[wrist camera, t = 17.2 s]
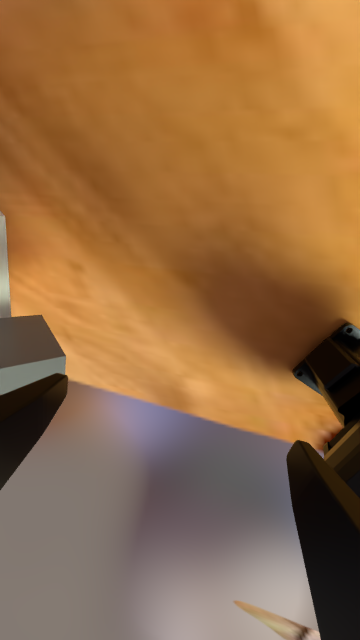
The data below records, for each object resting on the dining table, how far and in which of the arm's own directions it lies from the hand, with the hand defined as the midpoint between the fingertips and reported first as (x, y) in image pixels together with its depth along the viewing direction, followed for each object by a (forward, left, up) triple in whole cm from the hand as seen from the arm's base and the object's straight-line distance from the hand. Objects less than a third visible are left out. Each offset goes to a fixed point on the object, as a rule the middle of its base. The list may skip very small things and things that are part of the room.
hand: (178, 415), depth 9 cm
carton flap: (+17, +8, -12) cm, 22 cm away
